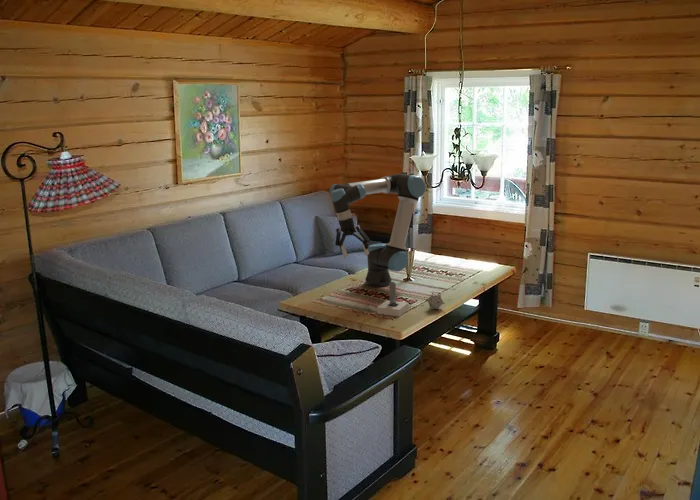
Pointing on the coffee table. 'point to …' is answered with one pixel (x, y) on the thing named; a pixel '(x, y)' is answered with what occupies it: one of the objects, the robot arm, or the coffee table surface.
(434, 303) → the game die
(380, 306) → the socket block
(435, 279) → the coffee table surface
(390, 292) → the pin
